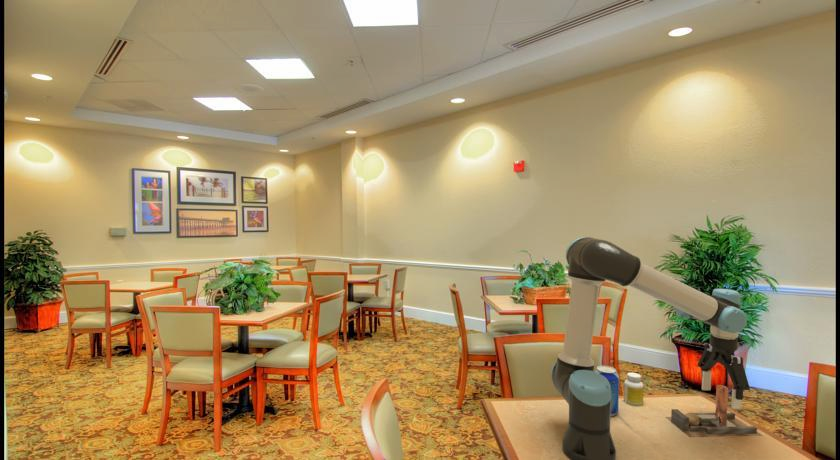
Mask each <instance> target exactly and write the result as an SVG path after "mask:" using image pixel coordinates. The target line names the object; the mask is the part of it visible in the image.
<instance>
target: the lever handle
mask: <svg viewBox="0 0 840 460" xmlns="http://www.w3.org/2000/svg"><path fill="white" fill-rule="evenodd" d="M715 389H716V390H715V410H714V411H715V412H714V413H715V415H697V416H698V418H699V421H700V423H701V424H711V425H712V426H713V427H736V426H735V425H734V424H732V423H731V422H729V421H728V420H727V413H728V404H729V403H728V402H729V401H728V400H729V399H728V398H729V387H728V386H726V385H722V384H716V388H715Z"/></svg>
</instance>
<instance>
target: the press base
mask: <svg viewBox="0 0 840 460" xmlns="http://www.w3.org/2000/svg"><path fill="white" fill-rule="evenodd" d="M693 413H694V414H696V415H715V412H693ZM665 419H667V420H668V421H669V422H670V423H672V424H673V425H675V426H676V427H677V428H678V429H679V430H681V432H683V433H684V434H685V435H686V436H688V437H689V438H708V437H709V438H710V437H711V438H714V437H715V438H719V437H761V436H762V437H763V436H764V435H763V434H761V433H760V432H758V428H757V427H756V426H754V425H750V426H749V425H748V424H746V423H745V422H743V421H741V420H740V419H738V418H736V413H734V412H727V420H728V421H729V422H731V423H732V424H734V425H735V426H736V427H713V426H712V425H711V424H701V423H700V422H699V425H698V426H689V418H688V417H687V416H686V415H685V414H684V412H681V411H680V410H679V409H678V408H677V409H673V408H671V416H665Z"/></svg>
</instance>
